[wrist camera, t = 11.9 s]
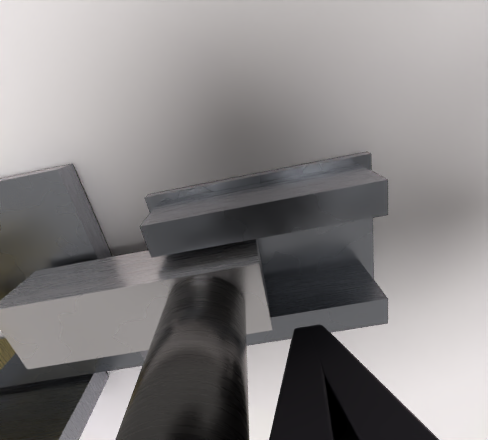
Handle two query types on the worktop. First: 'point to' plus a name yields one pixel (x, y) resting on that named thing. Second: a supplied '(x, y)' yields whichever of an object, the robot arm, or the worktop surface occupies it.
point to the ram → (153, 332)
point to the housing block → (5, 352)
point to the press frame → (187, 239)
